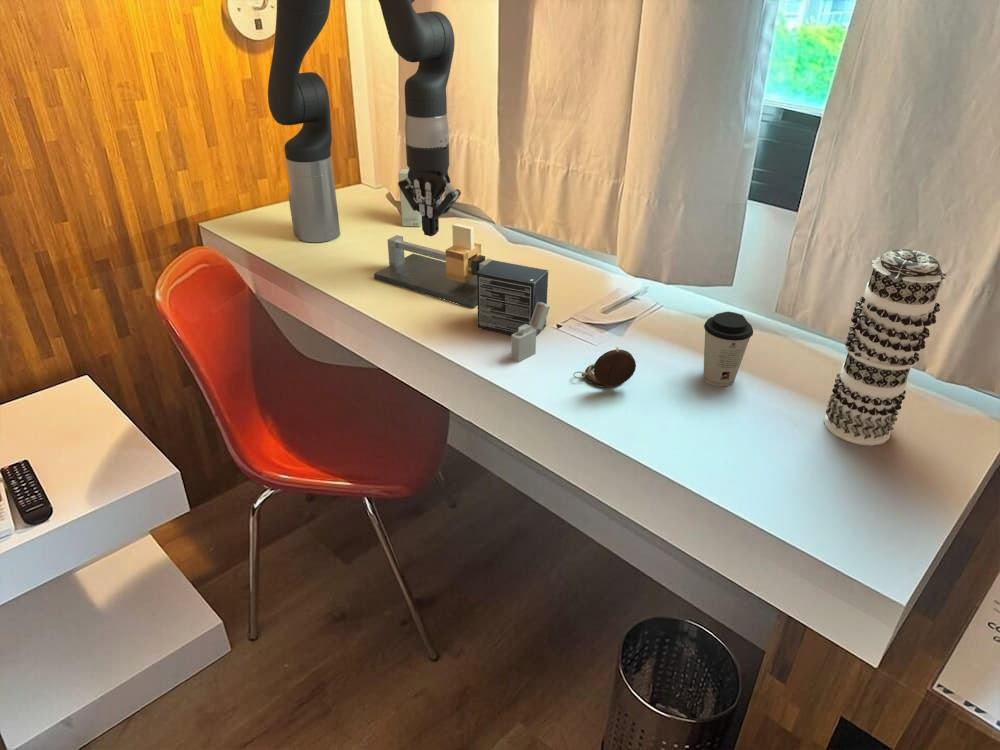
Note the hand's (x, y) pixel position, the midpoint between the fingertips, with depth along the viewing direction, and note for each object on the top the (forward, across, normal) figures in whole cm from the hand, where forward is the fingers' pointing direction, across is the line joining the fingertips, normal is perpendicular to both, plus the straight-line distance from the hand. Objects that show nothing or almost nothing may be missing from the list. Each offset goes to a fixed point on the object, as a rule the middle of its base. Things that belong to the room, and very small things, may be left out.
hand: (430, 234), depth 135 cm
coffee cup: (+8, +58, -6) cm, 59 cm away
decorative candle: (+8, +78, -8) cm, 79 cm away
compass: (+9, +43, -16) cm, 47 cm away
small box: (+9, +23, -8) cm, 26 cm away
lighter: (+9, +30, -14) cm, 35 cm away
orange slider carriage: (+6, +8, 0) cm, 10 cm away
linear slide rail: (+9, +2, 0) cm, 9 cm away
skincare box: (+10, -23, +23) cm, 34 cm away
